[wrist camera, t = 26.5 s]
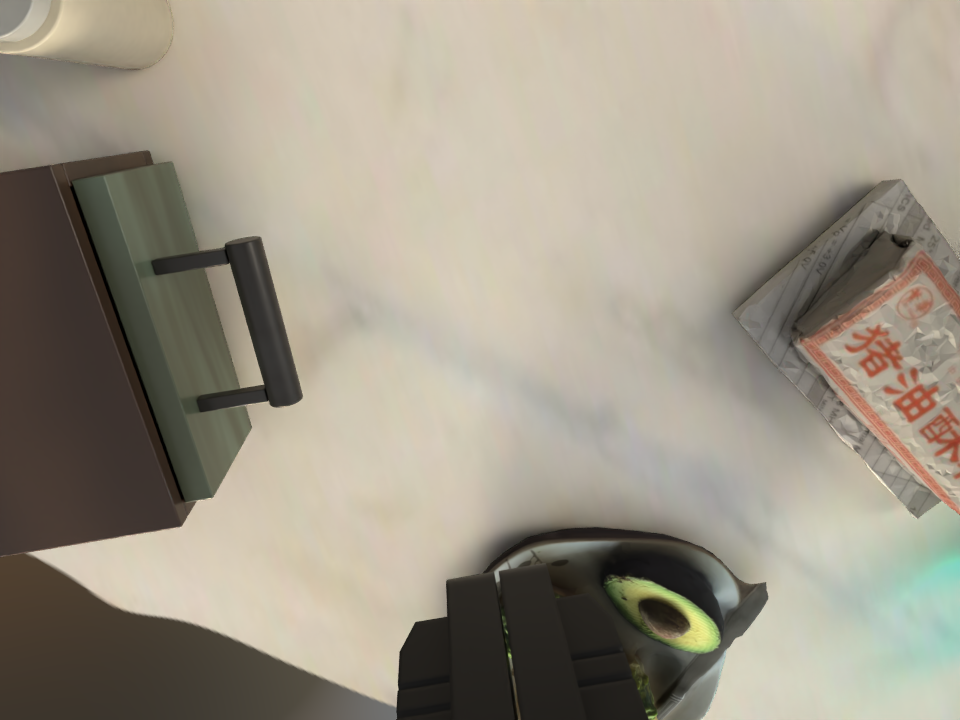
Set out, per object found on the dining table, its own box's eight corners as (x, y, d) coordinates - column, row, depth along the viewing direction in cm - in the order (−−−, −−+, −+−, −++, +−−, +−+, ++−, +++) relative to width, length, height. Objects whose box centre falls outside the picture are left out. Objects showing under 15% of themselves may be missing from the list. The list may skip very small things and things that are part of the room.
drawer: (268, 145, 30) (225, 156, 24) (334, 414, 35) (314, 482, 28) (-130, 208, 30) (-282, 235, 23) (-9, 470, 35) (-107, 551, 28)
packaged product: (1129, 438, 34) (962, 559, 36) (1047, 398, 39) (903, 509, 41) (951, 183, 29) (767, 342, 31) (880, 172, 33) (724, 312, 35)
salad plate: (700, 764, 47) (727, 831, 43) (445, 762, 45) (447, 831, 41) (768, 530, 40) (809, 580, 36) (474, 517, 39) (480, 568, 34)
